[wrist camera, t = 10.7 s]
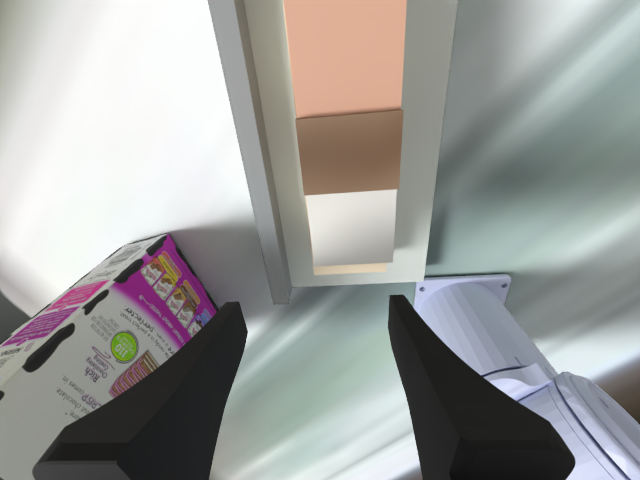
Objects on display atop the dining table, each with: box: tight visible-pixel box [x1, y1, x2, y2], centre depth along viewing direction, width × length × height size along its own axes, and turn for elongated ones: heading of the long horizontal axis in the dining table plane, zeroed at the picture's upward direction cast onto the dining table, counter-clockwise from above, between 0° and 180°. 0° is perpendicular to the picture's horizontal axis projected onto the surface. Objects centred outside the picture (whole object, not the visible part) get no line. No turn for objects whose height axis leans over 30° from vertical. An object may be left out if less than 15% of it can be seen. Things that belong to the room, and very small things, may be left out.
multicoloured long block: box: [282, 0, 404, 275], centre depth 14 cm, size 18×5×7 cm, turn 5°
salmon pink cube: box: [284, 0, 407, 118], centre depth 11 cm, size 4×4×4 cm
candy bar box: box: [0, 233, 218, 480], centre depth 19 cm, size 11×5×16 cm, turn 18°
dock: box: [208, 0, 458, 304], centre depth 17 cm, size 24×12×4 cm, turn 5°
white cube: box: [306, 189, 397, 267], centre depth 15 cm, size 4×4×4 cm
